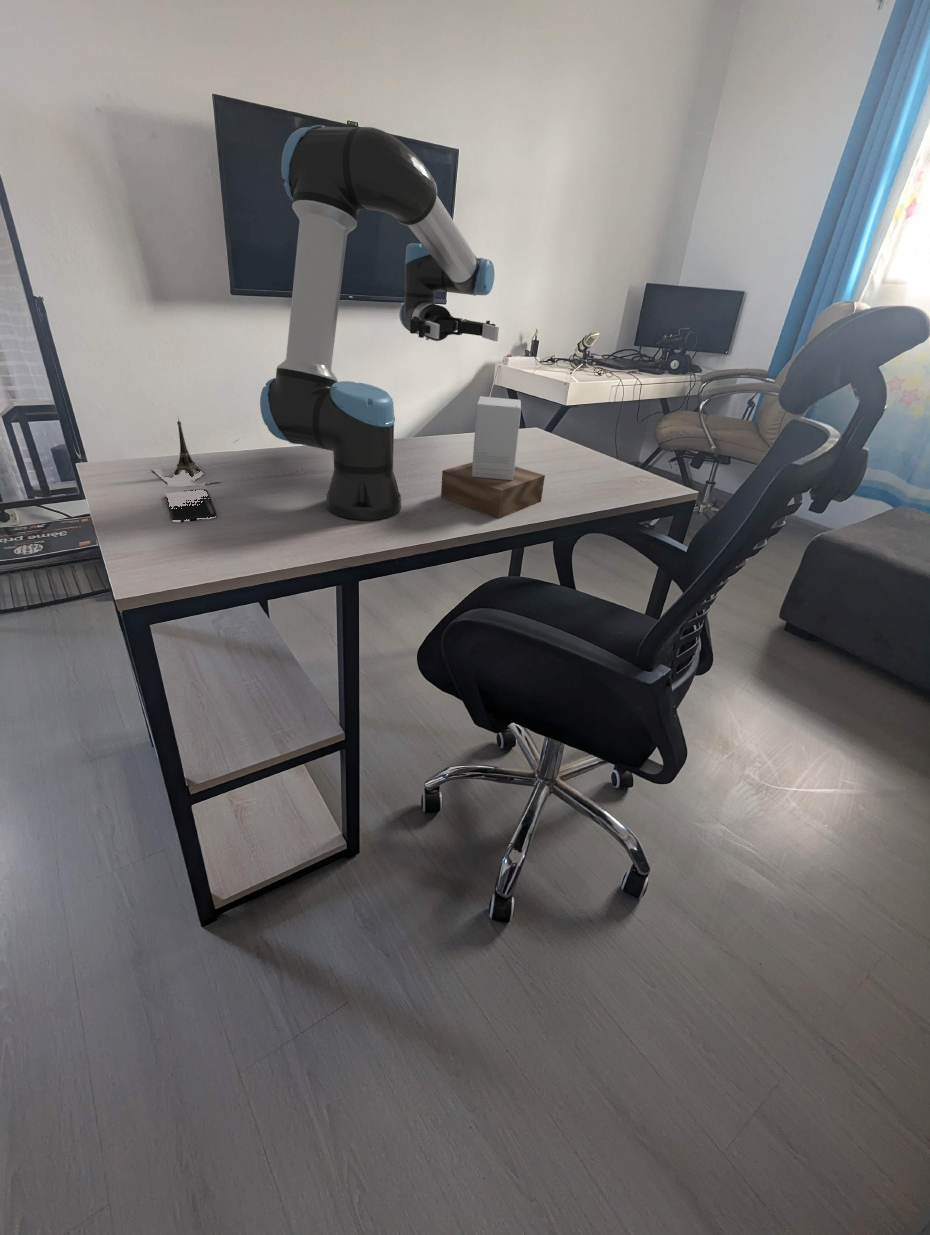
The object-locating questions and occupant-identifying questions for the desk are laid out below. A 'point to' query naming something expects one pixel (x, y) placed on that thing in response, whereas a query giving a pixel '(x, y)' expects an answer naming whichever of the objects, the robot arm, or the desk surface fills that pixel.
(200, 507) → the phone
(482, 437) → the supplement box
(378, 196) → the robot arm
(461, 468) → the walnut stand
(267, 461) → the desk surface
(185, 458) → the eiffel tower figurine
